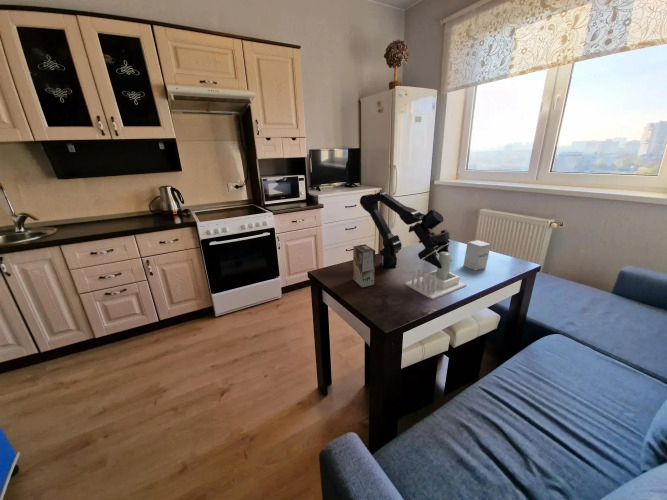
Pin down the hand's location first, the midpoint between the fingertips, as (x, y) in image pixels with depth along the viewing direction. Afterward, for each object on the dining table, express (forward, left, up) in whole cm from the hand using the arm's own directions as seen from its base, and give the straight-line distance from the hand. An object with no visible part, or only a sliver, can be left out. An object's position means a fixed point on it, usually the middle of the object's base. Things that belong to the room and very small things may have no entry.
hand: (446, 264), depth 115 cm
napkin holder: (+12, +41, -10) cm, 43 cm away
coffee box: (-35, +4, -9) cm, 36 cm away
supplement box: (+22, +17, -9) cm, 29 cm away
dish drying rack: (-4, -1, -9) cm, 10 cm away
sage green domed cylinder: (-1, +1, -8) cm, 8 cm away
